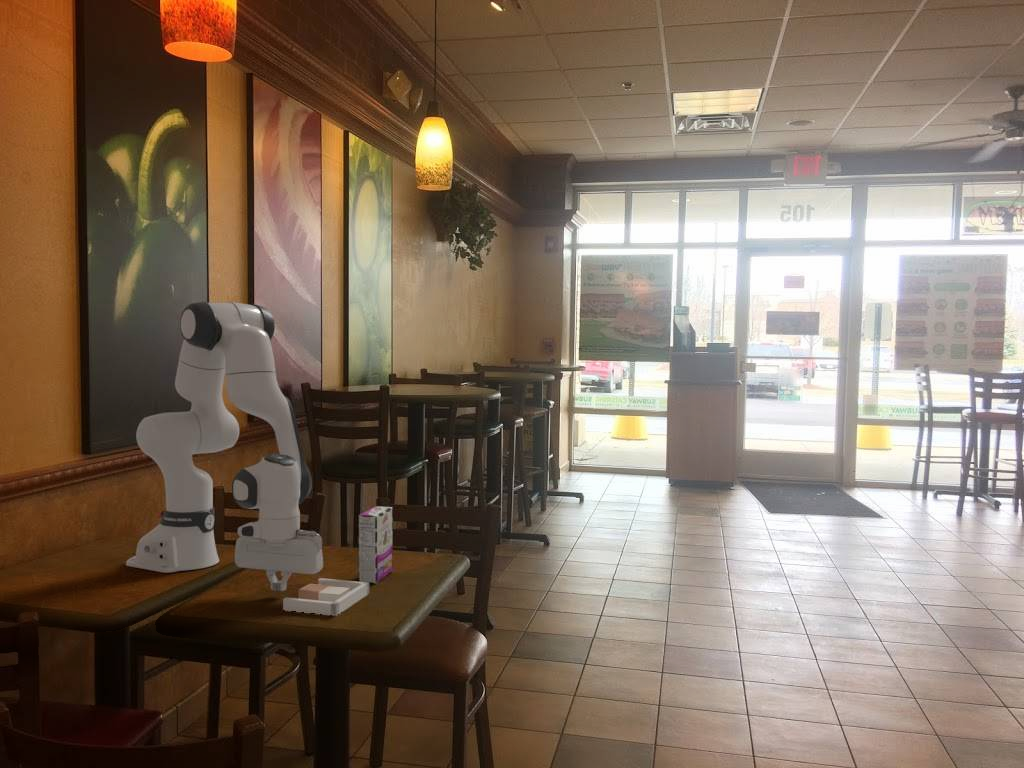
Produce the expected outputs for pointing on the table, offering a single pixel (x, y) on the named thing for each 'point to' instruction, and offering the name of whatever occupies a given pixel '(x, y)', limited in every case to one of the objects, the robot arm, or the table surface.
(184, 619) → the table surface
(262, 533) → the robot arm
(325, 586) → the terracotta tile
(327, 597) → the cream tile
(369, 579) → the candy bar box
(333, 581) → the box
